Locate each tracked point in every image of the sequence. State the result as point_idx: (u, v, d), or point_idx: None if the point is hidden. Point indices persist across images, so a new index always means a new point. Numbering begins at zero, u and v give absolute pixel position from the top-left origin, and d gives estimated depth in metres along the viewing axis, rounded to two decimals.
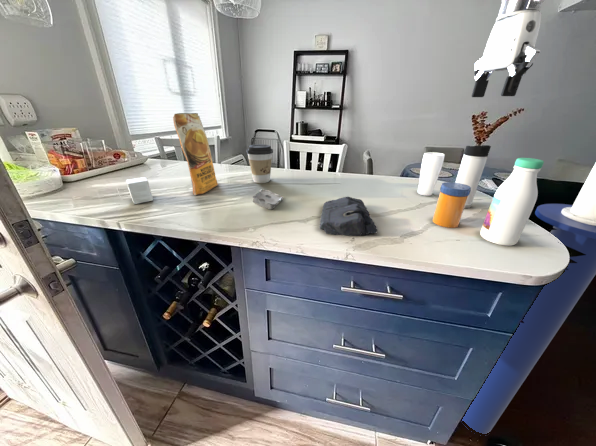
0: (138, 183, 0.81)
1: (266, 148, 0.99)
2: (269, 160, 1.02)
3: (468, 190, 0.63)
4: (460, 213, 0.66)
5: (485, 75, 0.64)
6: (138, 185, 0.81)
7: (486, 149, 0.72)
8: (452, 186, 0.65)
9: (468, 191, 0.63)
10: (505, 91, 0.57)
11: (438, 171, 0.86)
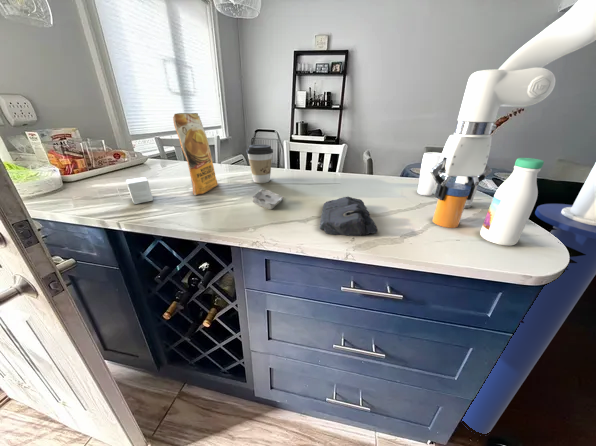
0: (138, 183, 0.81)
1: (266, 148, 0.99)
2: (269, 160, 1.02)
3: (468, 190, 0.63)
4: (460, 213, 0.66)
5: None
6: (138, 185, 0.81)
7: None
8: (452, 186, 0.65)
9: (468, 191, 0.63)
10: None
11: None
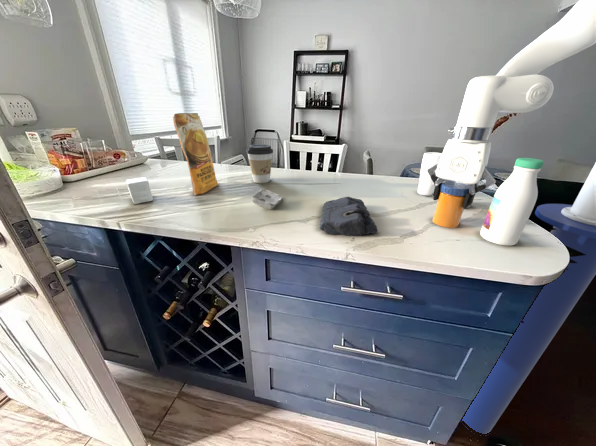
0: (138, 183, 0.81)
1: (266, 148, 0.99)
2: (269, 160, 1.02)
3: None
4: (460, 213, 0.66)
5: None
6: (138, 185, 0.81)
7: None
8: (462, 185, 0.65)
9: None
10: None
11: None
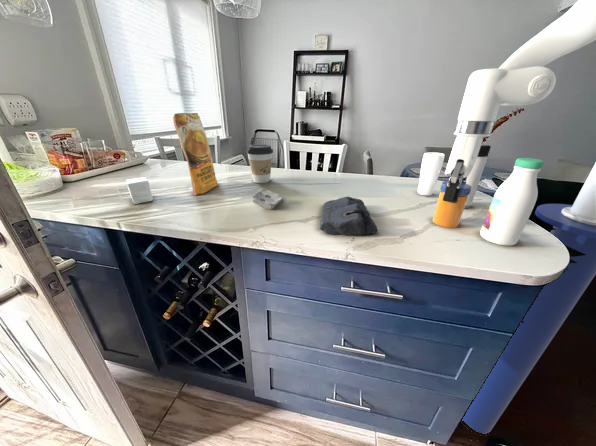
0: (138, 183, 0.81)
1: (266, 148, 0.99)
2: (269, 160, 1.02)
3: None
4: (460, 213, 0.66)
5: None
6: (138, 185, 0.81)
7: (486, 149, 0.72)
8: None
9: None
10: None
11: (438, 171, 0.86)
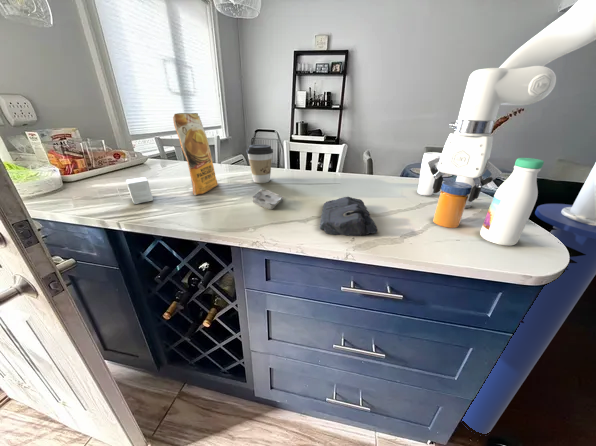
0: (138, 183, 0.81)
1: (266, 148, 0.99)
2: (269, 160, 1.02)
3: (446, 186, 0.65)
4: (461, 213, 0.66)
5: None
6: (138, 185, 0.81)
7: None
8: (452, 182, 0.67)
9: (446, 187, 0.65)
10: None
11: None
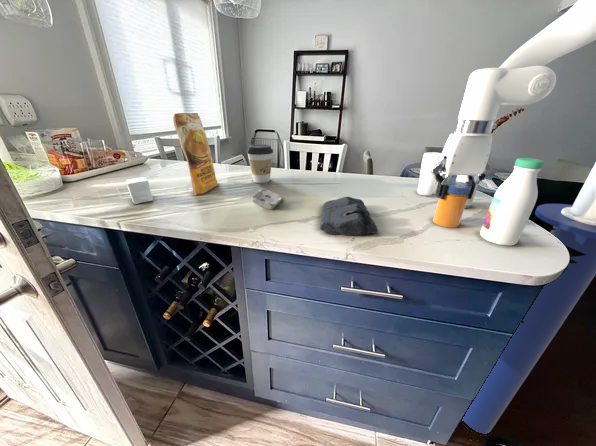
0: (138, 183, 0.81)
1: (266, 148, 0.99)
2: (269, 160, 1.02)
3: None
4: (460, 213, 0.66)
5: None
6: (138, 185, 0.81)
7: None
8: (452, 182, 0.67)
9: None
10: None
11: None
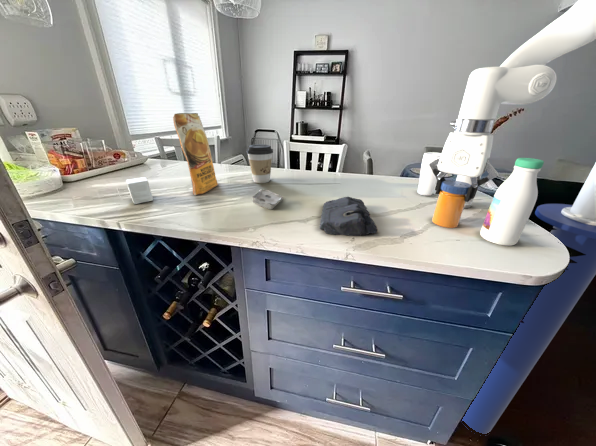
0: (138, 183, 0.81)
1: (266, 148, 0.99)
2: (269, 160, 1.02)
3: None
4: None
5: None
6: (138, 185, 0.81)
7: None
8: (455, 185, 0.64)
9: None
10: None
11: None
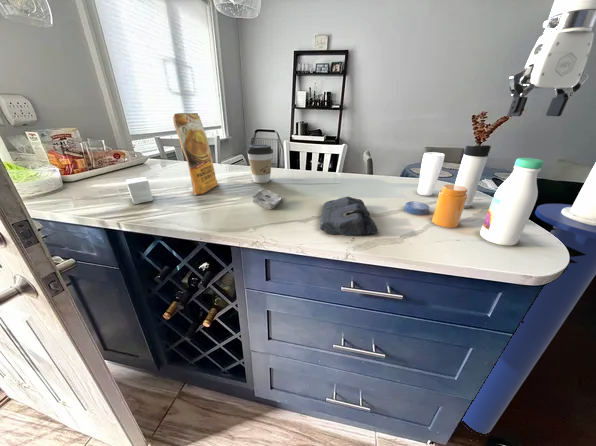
0: (138, 183, 0.81)
1: (266, 148, 0.99)
2: (269, 160, 1.02)
3: None
4: (461, 212, 0.67)
5: None
6: (138, 185, 0.81)
7: (486, 149, 0.72)
8: (420, 207, 0.76)
9: None
10: None
11: (438, 171, 0.86)
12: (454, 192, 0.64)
